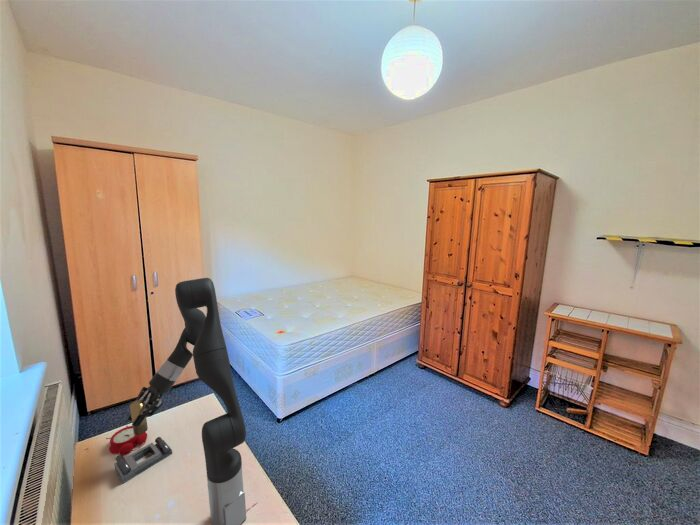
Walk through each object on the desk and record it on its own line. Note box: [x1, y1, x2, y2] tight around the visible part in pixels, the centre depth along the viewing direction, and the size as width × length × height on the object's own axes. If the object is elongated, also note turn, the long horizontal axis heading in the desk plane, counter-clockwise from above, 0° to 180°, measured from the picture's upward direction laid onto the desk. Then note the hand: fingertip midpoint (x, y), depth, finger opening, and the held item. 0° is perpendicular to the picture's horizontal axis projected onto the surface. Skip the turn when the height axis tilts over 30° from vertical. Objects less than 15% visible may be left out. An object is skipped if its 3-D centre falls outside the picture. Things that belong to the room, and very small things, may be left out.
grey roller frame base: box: [113, 436, 173, 484], centre depth 102 cm, size 9×15×5 cm, turn 143°
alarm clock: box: [105, 425, 148, 457], centre depth 110 cm, size 10×6×15 cm
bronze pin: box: [129, 399, 149, 435], centre depth 100 cm, size 4×4×11 cm
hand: (132, 422), depth 98 cm, fingers closed on bronze pin, 4 cm apart
